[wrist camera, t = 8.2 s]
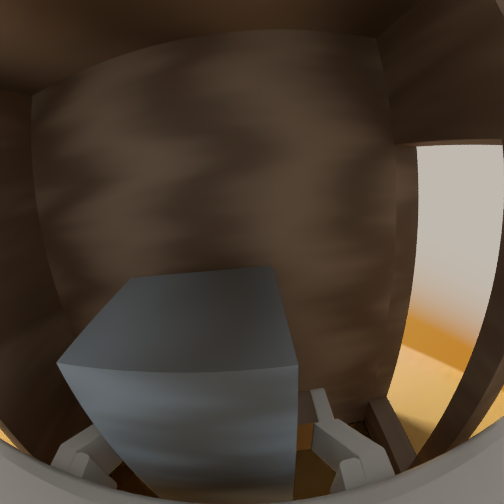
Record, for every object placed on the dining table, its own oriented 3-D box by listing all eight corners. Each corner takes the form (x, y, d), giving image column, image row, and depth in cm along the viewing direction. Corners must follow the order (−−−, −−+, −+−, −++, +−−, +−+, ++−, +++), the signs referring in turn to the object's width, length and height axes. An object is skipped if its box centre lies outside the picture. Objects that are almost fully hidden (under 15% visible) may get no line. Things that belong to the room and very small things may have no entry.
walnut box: (83, 504, 7) (-77, 69, 1) (116, 418, 15) (32, 88, 9) (415, 496, 7) (482, -43, 1) (374, 403, 15) (381, 32, 9)
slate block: (191, 524, 8) (56, 363, 4) (199, 456, 13) (131, 277, 9) (290, 523, 8) (298, 364, 4) (282, 453, 13) (271, 265, 9)
